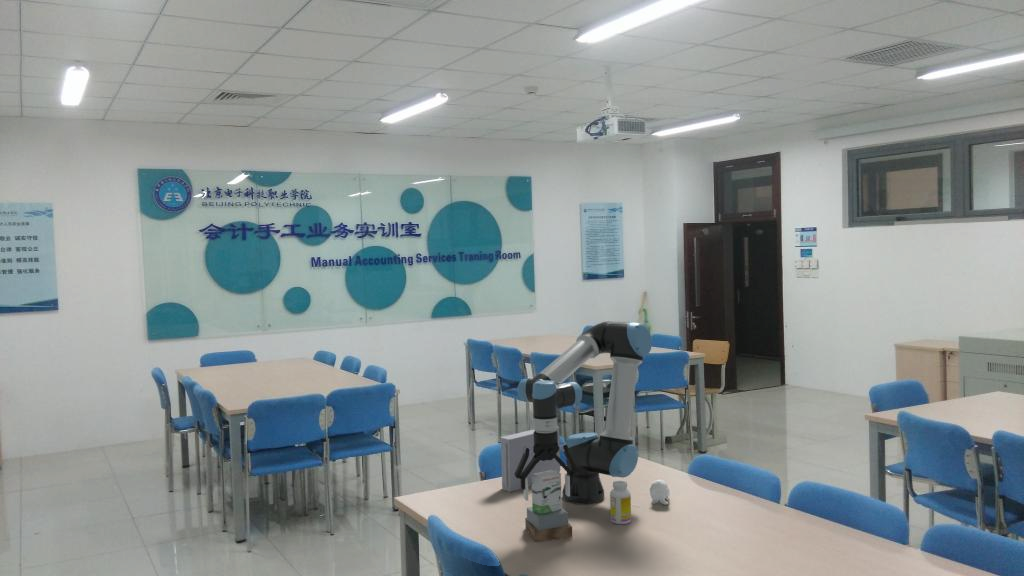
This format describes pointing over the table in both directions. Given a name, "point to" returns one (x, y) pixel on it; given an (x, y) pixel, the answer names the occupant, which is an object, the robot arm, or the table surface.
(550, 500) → the ink box
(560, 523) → the slate-grey top block
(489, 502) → the table surface
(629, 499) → the supplement bottle
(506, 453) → the game console
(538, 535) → the walnut base block
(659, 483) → the white octopus figurine
